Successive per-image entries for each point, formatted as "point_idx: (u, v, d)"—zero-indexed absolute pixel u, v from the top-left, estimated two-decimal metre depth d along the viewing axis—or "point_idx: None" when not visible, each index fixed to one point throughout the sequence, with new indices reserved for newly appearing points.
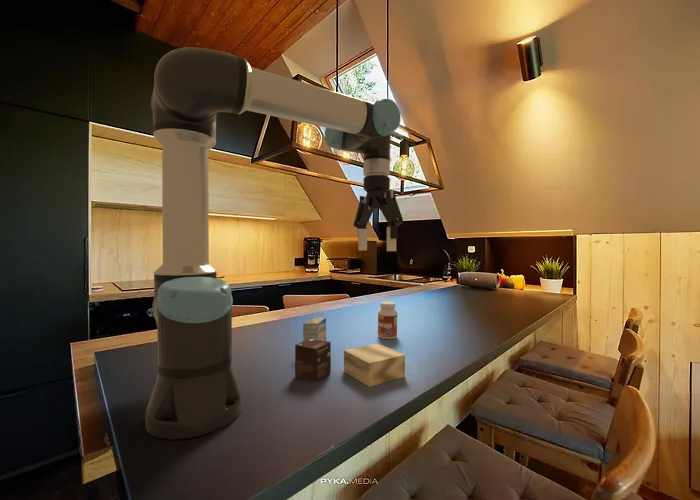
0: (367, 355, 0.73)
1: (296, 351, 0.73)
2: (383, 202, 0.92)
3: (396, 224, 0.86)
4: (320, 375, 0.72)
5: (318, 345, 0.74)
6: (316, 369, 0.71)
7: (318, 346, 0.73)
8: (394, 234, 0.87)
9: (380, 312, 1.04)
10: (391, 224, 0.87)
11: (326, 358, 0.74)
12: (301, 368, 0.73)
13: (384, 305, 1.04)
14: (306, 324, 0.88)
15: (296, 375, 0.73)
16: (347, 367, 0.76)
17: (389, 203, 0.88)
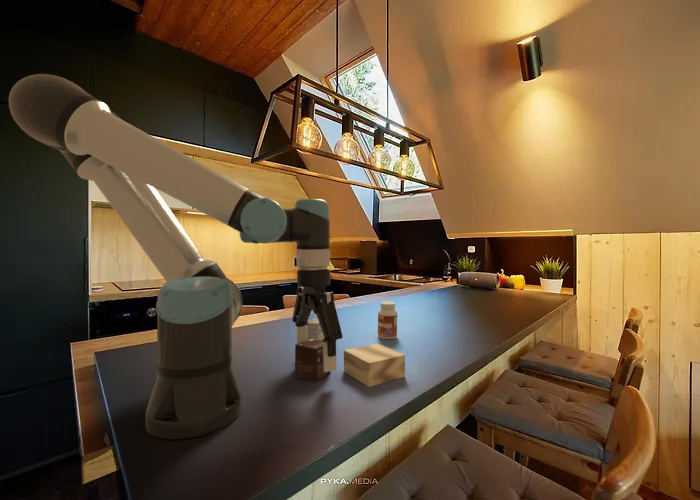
0: (367, 355, 0.73)
1: (296, 351, 0.73)
2: (321, 303, 0.72)
3: (333, 340, 0.67)
4: (320, 375, 0.72)
5: (318, 344, 0.74)
6: (316, 369, 0.71)
7: (318, 346, 0.73)
8: (331, 351, 0.68)
9: (380, 312, 1.04)
10: (327, 339, 0.67)
11: None
12: (301, 368, 0.73)
13: (384, 305, 1.04)
14: None
15: (296, 375, 0.73)
16: (347, 367, 0.76)
17: (324, 311, 0.68)
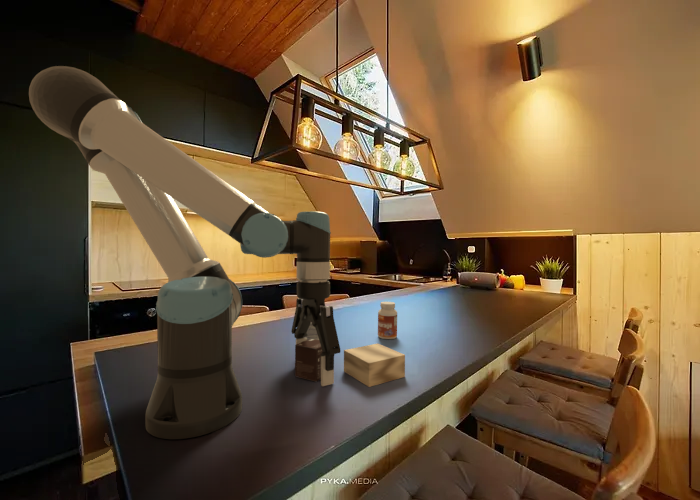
0: (367, 355, 0.73)
1: (296, 351, 0.73)
2: (320, 316, 0.72)
3: (331, 354, 0.67)
4: (320, 375, 0.72)
5: (318, 344, 0.74)
6: (316, 369, 0.71)
7: (318, 346, 0.73)
8: (329, 365, 0.68)
9: (380, 312, 1.04)
10: (325, 354, 0.67)
11: None
12: (301, 368, 0.73)
13: (384, 305, 1.04)
14: None
15: (296, 375, 0.73)
16: (347, 367, 0.76)
17: (323, 325, 0.68)
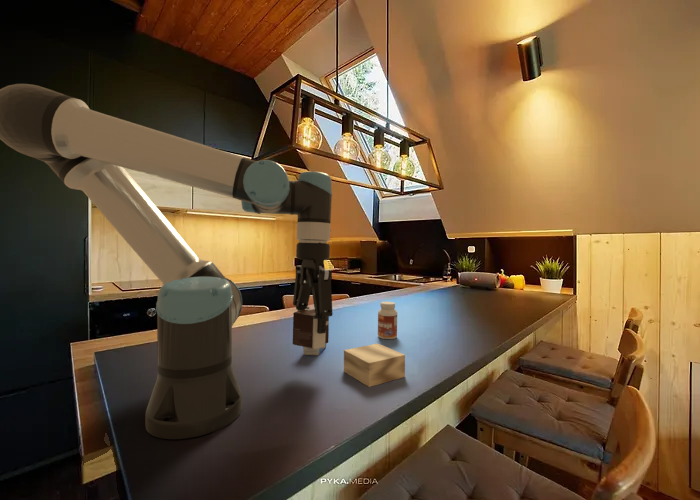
0: (367, 355, 0.73)
1: (294, 319, 0.73)
2: (318, 279, 0.72)
3: (323, 317, 0.69)
4: None
5: None
6: None
7: None
8: (321, 328, 0.70)
9: (380, 312, 1.04)
10: (317, 317, 0.69)
11: None
12: (299, 336, 0.73)
13: (384, 305, 1.04)
14: None
15: (294, 343, 0.73)
16: (347, 367, 0.76)
17: (320, 288, 0.69)
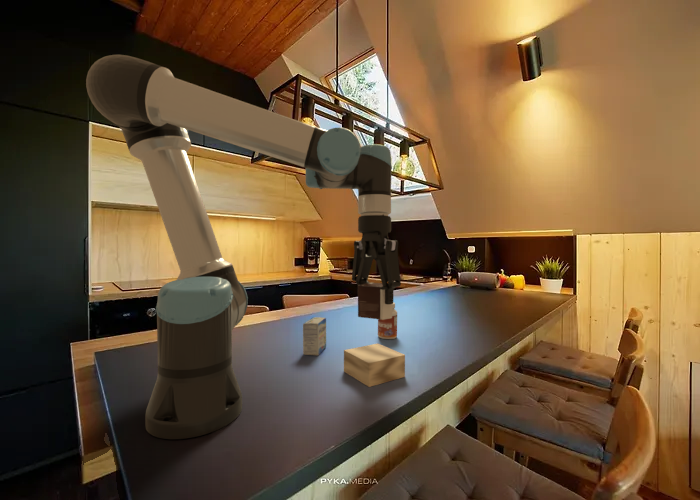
0: (367, 355, 0.73)
1: (359, 291, 0.74)
2: (382, 251, 0.73)
3: (392, 287, 0.69)
4: None
5: (381, 285, 0.74)
6: None
7: (381, 285, 0.73)
8: (389, 299, 0.70)
9: None
10: (385, 288, 0.70)
11: None
12: (365, 308, 0.73)
13: None
14: (306, 324, 0.88)
15: (359, 315, 0.74)
16: (347, 367, 0.76)
17: (387, 258, 0.69)
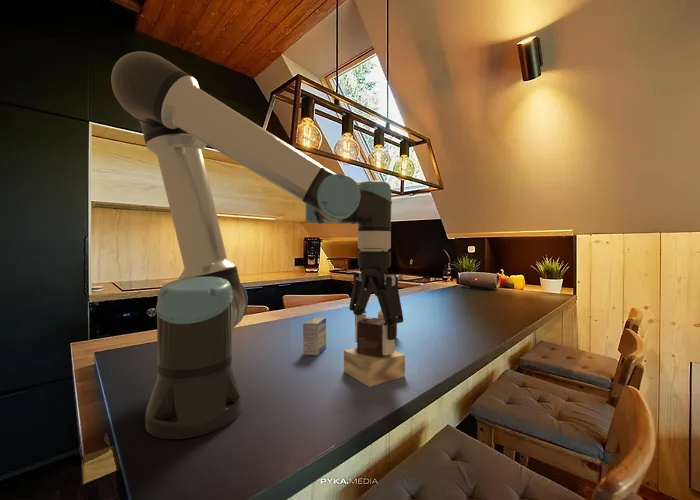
0: (367, 355, 0.73)
1: (358, 328, 0.74)
2: (382, 286, 0.73)
3: (394, 323, 0.69)
4: None
5: (380, 322, 0.74)
6: (380, 345, 0.72)
7: (381, 323, 0.73)
8: (392, 335, 0.69)
9: (380, 312, 1.04)
10: (388, 323, 0.69)
11: None
12: (364, 345, 0.73)
13: None
14: (306, 324, 0.88)
15: (358, 352, 0.74)
16: (347, 367, 0.76)
17: (388, 294, 0.69)
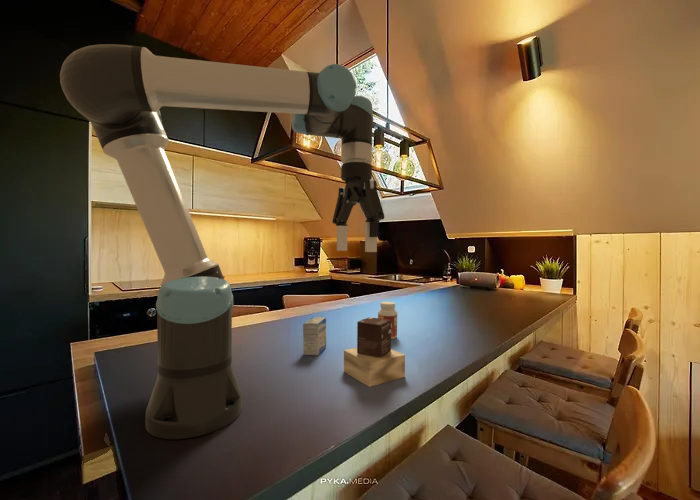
0: (367, 355, 0.73)
1: (358, 328, 0.74)
2: (363, 194, 0.78)
3: (376, 220, 0.72)
4: (383, 352, 0.73)
5: (380, 322, 0.74)
6: (380, 345, 0.72)
7: (381, 323, 0.73)
8: (373, 232, 0.73)
9: (380, 312, 1.04)
10: (370, 220, 0.73)
11: (388, 336, 0.75)
12: (364, 345, 0.73)
13: (384, 305, 1.04)
14: (306, 324, 0.88)
15: (358, 352, 0.74)
16: (347, 367, 0.76)
17: (368, 195, 0.73)
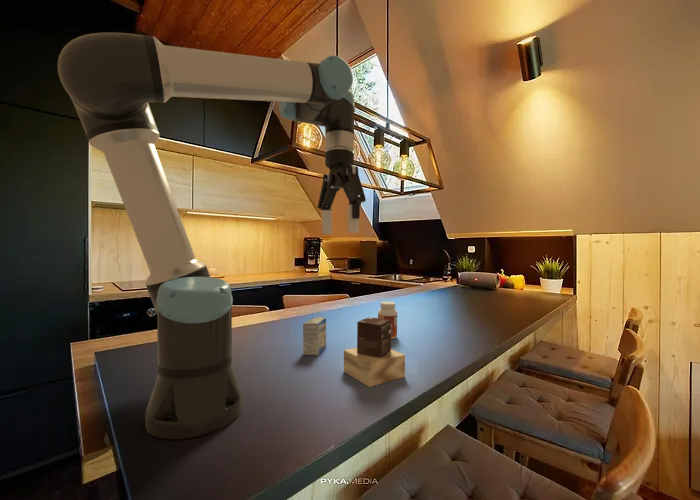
0: (367, 355, 0.73)
1: (358, 328, 0.74)
2: (346, 179, 0.84)
3: (357, 202, 0.78)
4: (383, 352, 0.73)
5: (380, 322, 0.74)
6: (380, 345, 0.72)
7: (381, 323, 0.73)
8: (356, 213, 0.79)
9: (380, 312, 1.04)
10: (352, 202, 0.78)
11: (388, 336, 0.75)
12: (364, 345, 0.73)
13: (384, 305, 1.04)
14: (306, 324, 0.88)
15: (358, 352, 0.74)
16: (347, 367, 0.76)
17: (350, 179, 0.79)
